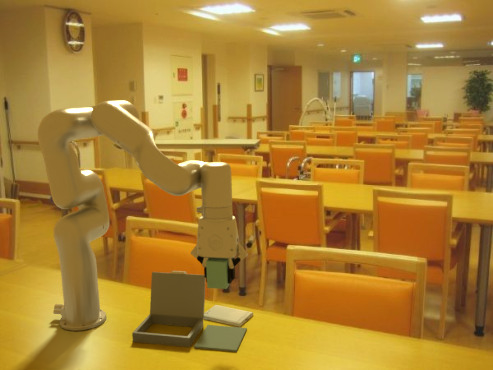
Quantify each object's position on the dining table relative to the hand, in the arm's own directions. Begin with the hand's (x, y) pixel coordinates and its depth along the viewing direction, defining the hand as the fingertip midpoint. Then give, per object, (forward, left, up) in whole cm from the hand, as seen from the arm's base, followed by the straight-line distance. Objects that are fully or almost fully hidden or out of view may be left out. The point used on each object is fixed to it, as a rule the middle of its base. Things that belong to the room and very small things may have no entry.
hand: (219, 280), depth 130 cm
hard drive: (-2, +13, -17) cm, 21 cm away
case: (-15, 0, -16) cm, 22 cm away
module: (0, 0, -1) cm, 1 cm away
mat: (0, 0, -16) cm, 16 cm away
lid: (-15, +7, -8) cm, 18 cm away
